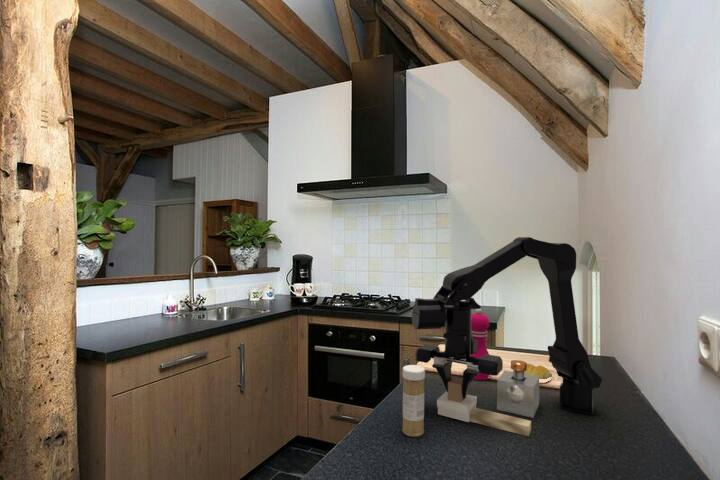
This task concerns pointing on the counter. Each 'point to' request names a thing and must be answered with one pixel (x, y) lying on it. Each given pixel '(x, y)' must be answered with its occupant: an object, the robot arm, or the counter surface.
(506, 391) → the cabinet
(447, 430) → the counter surface
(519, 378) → the plunger
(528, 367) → the bread roll
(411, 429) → the sprinkles bottle
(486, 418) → the rail
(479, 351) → the pepper mill
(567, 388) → the robot arm
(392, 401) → the counter surface
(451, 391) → the carriage
